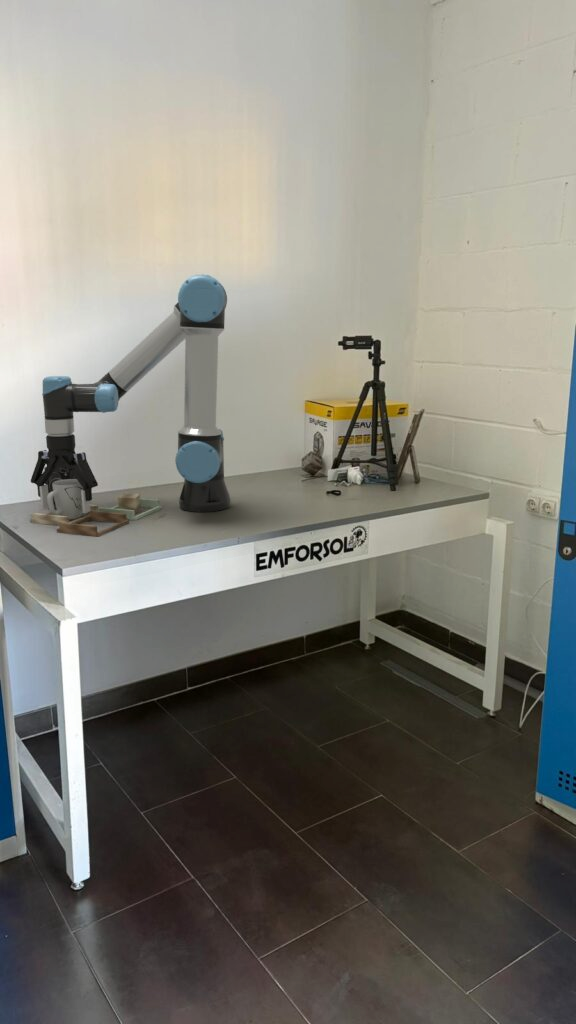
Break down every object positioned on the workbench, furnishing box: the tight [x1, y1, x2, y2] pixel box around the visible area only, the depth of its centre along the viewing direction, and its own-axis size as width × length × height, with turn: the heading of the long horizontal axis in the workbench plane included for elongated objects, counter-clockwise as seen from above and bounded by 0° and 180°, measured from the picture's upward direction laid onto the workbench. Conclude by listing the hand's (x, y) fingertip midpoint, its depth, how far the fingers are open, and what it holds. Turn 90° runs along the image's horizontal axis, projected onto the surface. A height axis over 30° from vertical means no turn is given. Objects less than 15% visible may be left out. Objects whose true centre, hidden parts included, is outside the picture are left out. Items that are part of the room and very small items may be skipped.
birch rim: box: [30, 504, 99, 526], centre depth 214 cm, size 13×15×2 cm
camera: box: [43, 458, 81, 508], centre depth 227 cm, size 10×11×15 cm
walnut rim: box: [56, 510, 130, 537], centre depth 204 cm, size 13×15×2 cm
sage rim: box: [98, 497, 163, 521], centre depth 221 cm, size 13×15×2 cm
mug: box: [47, 479, 84, 521], centre depth 213 cm, size 11×8×10 cm
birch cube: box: [117, 493, 142, 516], centre depth 221 cm, size 5×5×5 cm
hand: (65, 510), depth 214 cm, fingers open, 13 cm apart
